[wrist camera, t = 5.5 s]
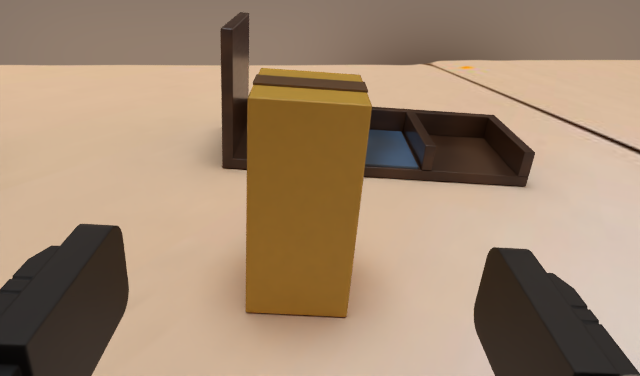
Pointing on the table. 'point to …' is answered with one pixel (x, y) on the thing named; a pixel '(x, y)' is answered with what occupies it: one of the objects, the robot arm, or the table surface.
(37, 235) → the table surface
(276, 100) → the parcel
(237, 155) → the tray
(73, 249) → the robot arm
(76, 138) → the table surface
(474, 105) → the table surface
